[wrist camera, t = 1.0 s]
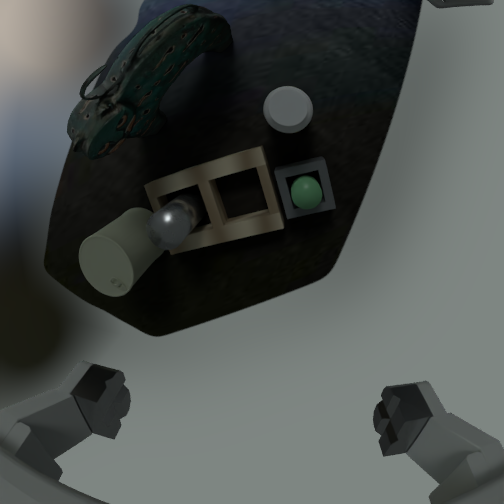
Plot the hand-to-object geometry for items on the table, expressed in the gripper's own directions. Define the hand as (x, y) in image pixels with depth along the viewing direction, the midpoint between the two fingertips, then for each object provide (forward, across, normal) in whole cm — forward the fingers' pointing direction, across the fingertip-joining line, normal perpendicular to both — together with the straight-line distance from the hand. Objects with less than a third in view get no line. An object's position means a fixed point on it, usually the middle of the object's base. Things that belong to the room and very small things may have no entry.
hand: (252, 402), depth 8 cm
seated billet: (+35, +11, 0) cm, 37 cm away
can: (+37, +20, +5) cm, 42 cm away
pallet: (+35, +7, -1) cm, 35 cm away
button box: (+34, -5, -4) cm, 34 cm away
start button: (+31, -5, -3) cm, 31 cm away
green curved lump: (+33, +12, -18) cm, 40 cm away
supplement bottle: (+33, -2, -14) cm, 35 cm away
